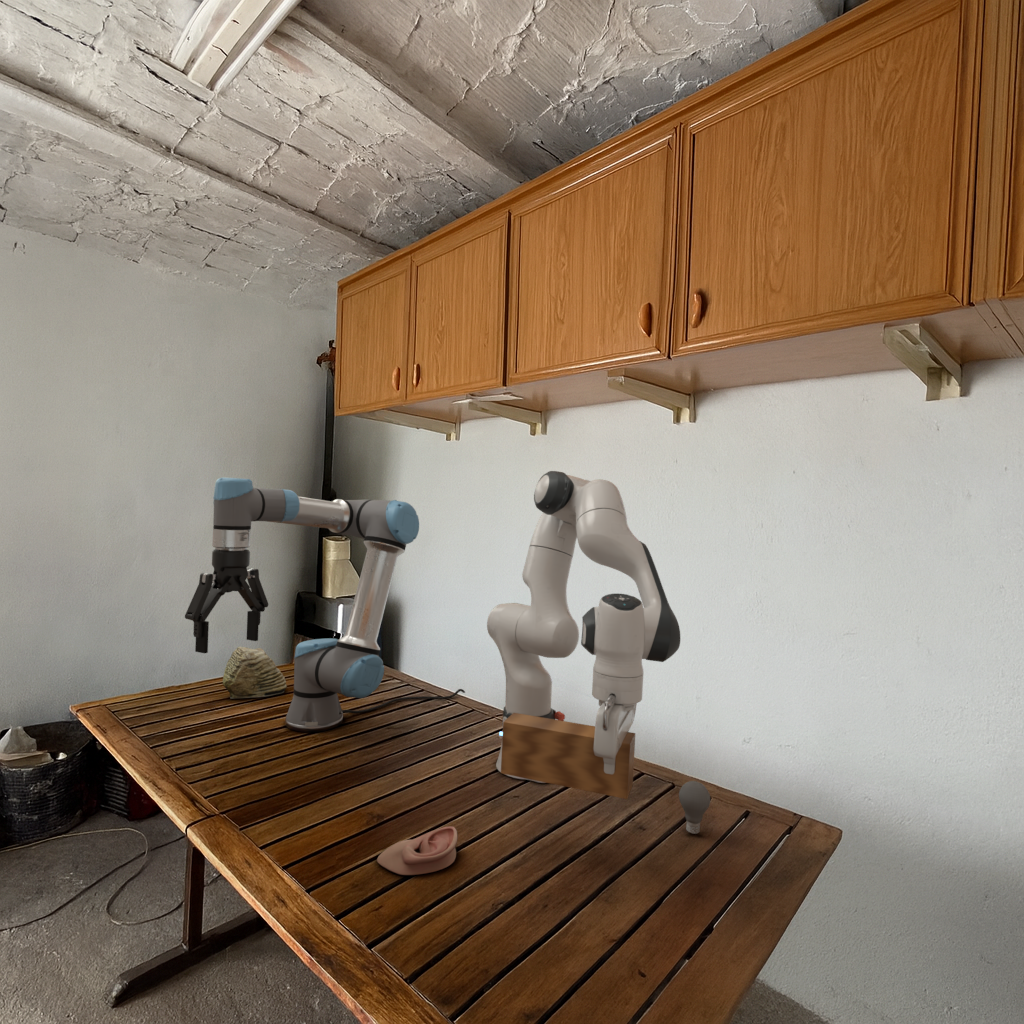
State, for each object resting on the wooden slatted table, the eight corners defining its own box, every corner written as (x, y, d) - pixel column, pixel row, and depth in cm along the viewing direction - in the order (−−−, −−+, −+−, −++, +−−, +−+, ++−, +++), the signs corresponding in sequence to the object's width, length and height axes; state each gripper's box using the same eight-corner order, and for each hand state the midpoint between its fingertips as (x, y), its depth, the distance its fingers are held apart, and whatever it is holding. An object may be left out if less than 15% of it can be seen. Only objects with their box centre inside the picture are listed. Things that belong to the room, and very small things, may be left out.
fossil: (218, 695, 195) (220, 647, 195) (278, 685, 208) (279, 640, 207) (228, 703, 189) (230, 653, 188) (289, 692, 201) (290, 645, 201)
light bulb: (673, 824, 128) (675, 775, 128) (701, 824, 129) (704, 775, 129) (683, 840, 122) (685, 789, 122) (713, 840, 123) (716, 789, 123)
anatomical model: (370, 846, 108) (395, 814, 119) (369, 869, 108) (395, 835, 119) (444, 859, 105) (463, 825, 117) (443, 882, 106) (462, 846, 117)
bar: (500, 773, 117) (503, 721, 117) (511, 761, 122) (513, 712, 122) (627, 799, 109) (630, 744, 109) (632, 785, 114) (635, 733, 114)
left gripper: (194, 553, 125) (190, 660, 125) (286, 547, 148) (283, 637, 148) (167, 550, 128) (164, 655, 128) (262, 544, 151) (258, 633, 151)
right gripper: (625, 707, 101) (620, 792, 102) (643, 675, 121) (640, 747, 121) (586, 701, 104) (582, 784, 104) (610, 671, 123) (607, 742, 123)
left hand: (227, 646), depth 138 cm, fingers open, 13 cm apart
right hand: (613, 764), depth 113 cm, fingers closed on bar, 6 cm apart
